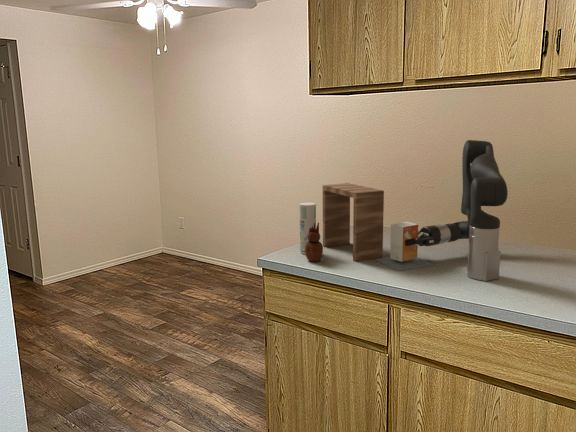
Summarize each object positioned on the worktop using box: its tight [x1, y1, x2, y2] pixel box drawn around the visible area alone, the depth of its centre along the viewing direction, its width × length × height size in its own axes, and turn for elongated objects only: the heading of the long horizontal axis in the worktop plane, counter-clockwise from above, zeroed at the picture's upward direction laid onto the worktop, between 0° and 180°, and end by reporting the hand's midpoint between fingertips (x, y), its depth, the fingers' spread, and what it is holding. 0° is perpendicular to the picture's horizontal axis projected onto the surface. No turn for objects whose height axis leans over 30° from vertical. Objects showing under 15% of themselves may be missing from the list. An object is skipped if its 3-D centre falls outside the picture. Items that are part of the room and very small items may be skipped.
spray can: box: [299, 201, 317, 256], centre depth 196 cm, size 6×6×20 cm
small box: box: [389, 221, 419, 262], centre depth 181 cm, size 8×6×13 cm
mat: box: [374, 256, 434, 272], centre depth 182 cm, size 15×15×1 cm
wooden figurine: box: [304, 221, 324, 263], centre depth 186 cm, size 7×6×15 cm
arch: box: [322, 182, 385, 263], centre depth 196 cm, size 26×12×26 cm, turn 24°
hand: (399, 240), depth 180 cm, fingers closed on small box, 7 cm apart
